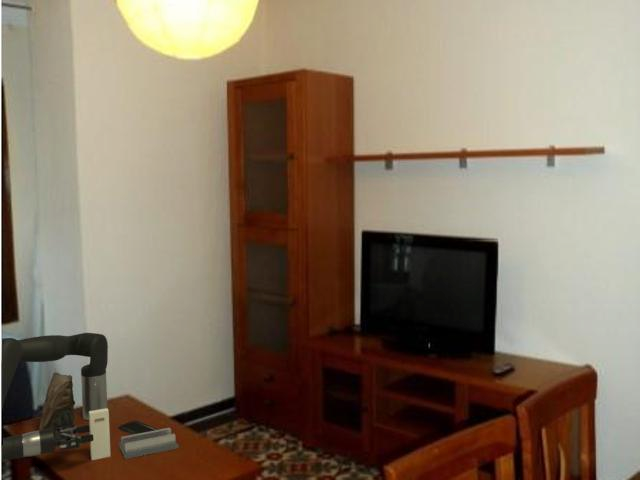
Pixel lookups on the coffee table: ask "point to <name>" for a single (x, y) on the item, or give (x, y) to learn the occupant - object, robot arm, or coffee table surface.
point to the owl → (58, 403)
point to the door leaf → (99, 433)
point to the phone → (136, 427)
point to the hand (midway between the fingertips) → (91, 432)
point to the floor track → (148, 443)
